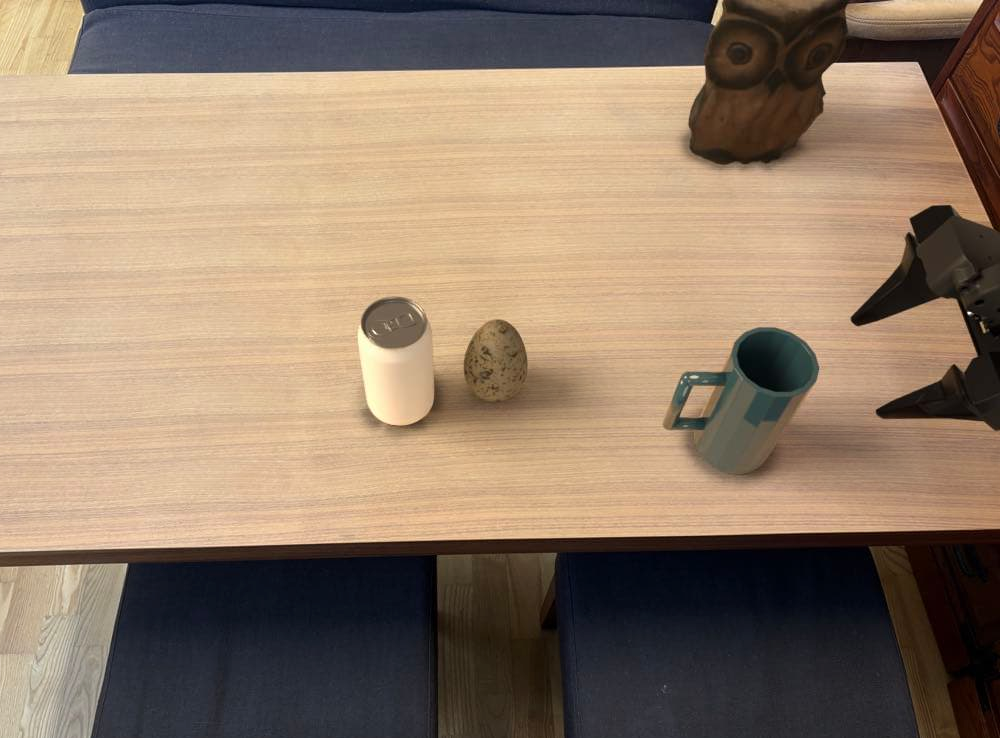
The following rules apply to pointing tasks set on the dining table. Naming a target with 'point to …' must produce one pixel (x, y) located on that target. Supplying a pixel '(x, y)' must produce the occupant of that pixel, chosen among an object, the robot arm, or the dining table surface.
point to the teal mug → (747, 399)
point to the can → (397, 360)
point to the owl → (764, 77)
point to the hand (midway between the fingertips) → (865, 366)
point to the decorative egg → (495, 361)
